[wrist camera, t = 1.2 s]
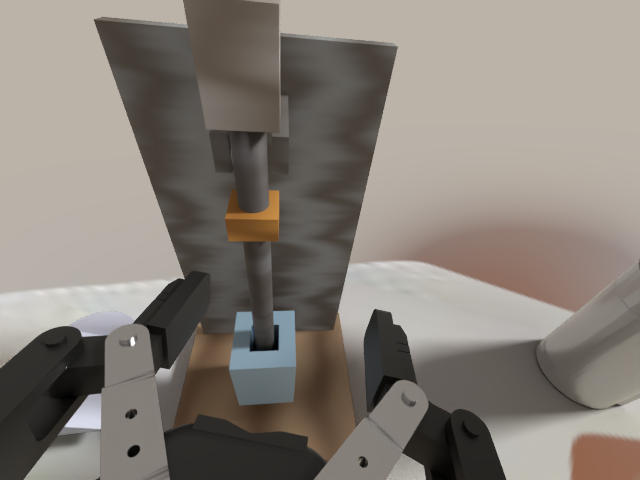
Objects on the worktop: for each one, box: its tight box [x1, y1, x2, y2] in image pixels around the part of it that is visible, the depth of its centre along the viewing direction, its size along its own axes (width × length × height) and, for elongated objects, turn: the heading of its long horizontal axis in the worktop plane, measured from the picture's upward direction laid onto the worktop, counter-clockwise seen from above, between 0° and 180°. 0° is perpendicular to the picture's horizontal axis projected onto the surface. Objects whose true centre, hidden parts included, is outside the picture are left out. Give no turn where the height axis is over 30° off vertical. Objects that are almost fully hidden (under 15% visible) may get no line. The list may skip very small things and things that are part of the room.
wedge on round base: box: [58, 311, 134, 435], centre depth 31 cm, size 9×7×13 cm
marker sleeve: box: [229, 311, 296, 406], centre depth 28 cm, size 5×5×8 cm
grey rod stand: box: [94, 0, 398, 463], centre depth 22 cm, size 18×16×35 cm
